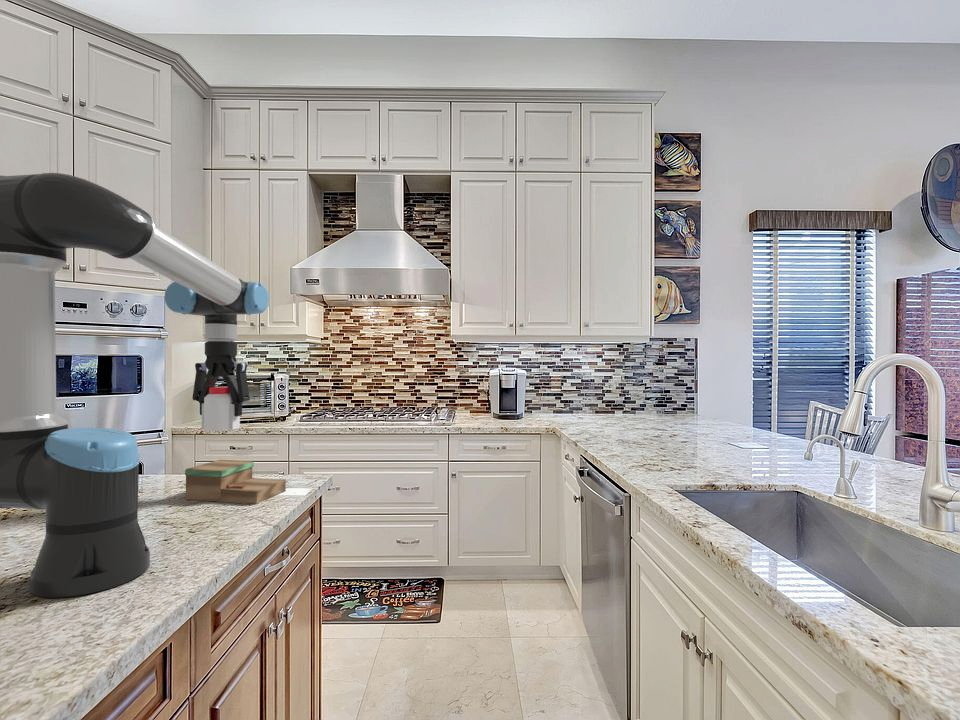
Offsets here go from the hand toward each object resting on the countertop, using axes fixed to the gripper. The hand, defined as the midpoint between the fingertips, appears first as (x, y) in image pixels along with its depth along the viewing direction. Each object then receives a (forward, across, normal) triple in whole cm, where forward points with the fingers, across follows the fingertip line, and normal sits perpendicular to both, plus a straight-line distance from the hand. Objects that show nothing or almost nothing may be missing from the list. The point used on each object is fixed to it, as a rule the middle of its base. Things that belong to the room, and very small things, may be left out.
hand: (220, 428), depth 128 cm
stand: (+17, -5, 0) cm, 18 cm away
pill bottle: (0, 0, 0) cm, 0 cm away
